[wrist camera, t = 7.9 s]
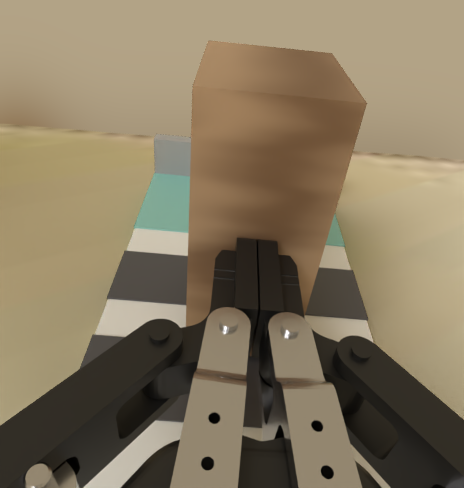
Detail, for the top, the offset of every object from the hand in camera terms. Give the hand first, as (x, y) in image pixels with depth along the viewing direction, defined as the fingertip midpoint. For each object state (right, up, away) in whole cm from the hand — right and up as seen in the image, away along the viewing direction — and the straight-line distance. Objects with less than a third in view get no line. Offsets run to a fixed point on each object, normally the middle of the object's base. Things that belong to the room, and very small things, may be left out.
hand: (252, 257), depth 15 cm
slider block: (0, -3, +6) cm, 7 cm away
